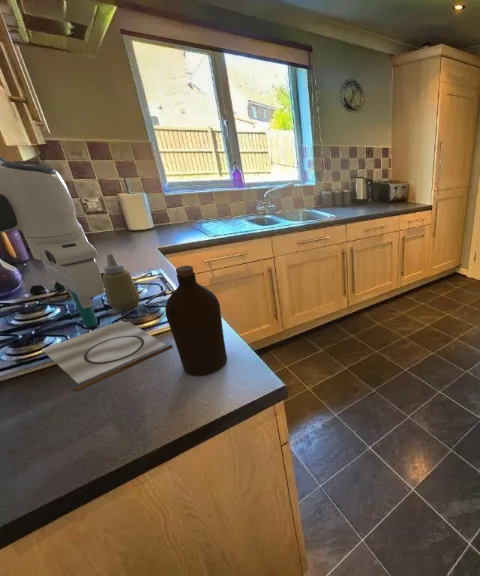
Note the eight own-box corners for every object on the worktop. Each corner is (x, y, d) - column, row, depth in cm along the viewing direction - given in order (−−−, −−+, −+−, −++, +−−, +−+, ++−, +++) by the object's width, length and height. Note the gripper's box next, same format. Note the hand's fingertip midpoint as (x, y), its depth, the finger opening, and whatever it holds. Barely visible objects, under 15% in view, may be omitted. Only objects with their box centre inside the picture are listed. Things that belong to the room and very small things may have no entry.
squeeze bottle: (136, 300, 107) (120, 248, 100) (147, 308, 103) (131, 253, 96) (106, 309, 101) (87, 254, 94) (116, 317, 97) (97, 260, 90)
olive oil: (223, 376, 76) (203, 276, 66) (173, 380, 74) (144, 278, 64) (234, 349, 85) (218, 259, 75) (190, 352, 83) (167, 260, 73)
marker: (84, 329, 76) (65, 281, 71) (97, 324, 78) (78, 277, 73) (89, 332, 75) (69, 283, 70) (101, 327, 77) (83, 280, 72)
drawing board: (36, 353, 81) (34, 349, 80) (128, 320, 96) (127, 316, 96) (75, 392, 69) (73, 387, 69) (173, 347, 85) (172, 343, 85)
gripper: (22, 240, 70) (48, 297, 76) (58, 259, 61) (84, 323, 67) (60, 234, 75) (81, 288, 81) (99, 251, 66) (120, 311, 72)
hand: (83, 304), depth 74 cm, fingers closed on marker, 2 cm apart
